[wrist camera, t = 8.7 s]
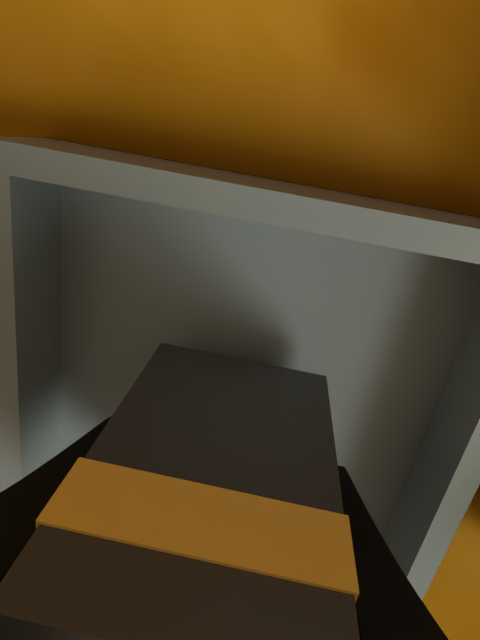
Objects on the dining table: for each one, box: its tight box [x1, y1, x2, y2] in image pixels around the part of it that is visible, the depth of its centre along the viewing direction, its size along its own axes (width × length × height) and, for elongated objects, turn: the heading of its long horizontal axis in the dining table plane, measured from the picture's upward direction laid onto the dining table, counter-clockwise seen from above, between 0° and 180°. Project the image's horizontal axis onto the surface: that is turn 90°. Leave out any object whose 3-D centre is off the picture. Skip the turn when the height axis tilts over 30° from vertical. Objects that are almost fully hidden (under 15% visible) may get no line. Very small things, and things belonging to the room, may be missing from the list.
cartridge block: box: [0, 343, 360, 640], centre depth 8 cm, size 4×5×6 cm
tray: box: [0, 136, 480, 600], centre depth 11 cm, size 11×12×2 cm
